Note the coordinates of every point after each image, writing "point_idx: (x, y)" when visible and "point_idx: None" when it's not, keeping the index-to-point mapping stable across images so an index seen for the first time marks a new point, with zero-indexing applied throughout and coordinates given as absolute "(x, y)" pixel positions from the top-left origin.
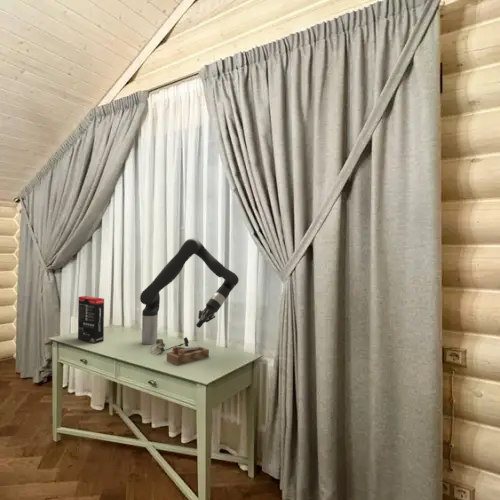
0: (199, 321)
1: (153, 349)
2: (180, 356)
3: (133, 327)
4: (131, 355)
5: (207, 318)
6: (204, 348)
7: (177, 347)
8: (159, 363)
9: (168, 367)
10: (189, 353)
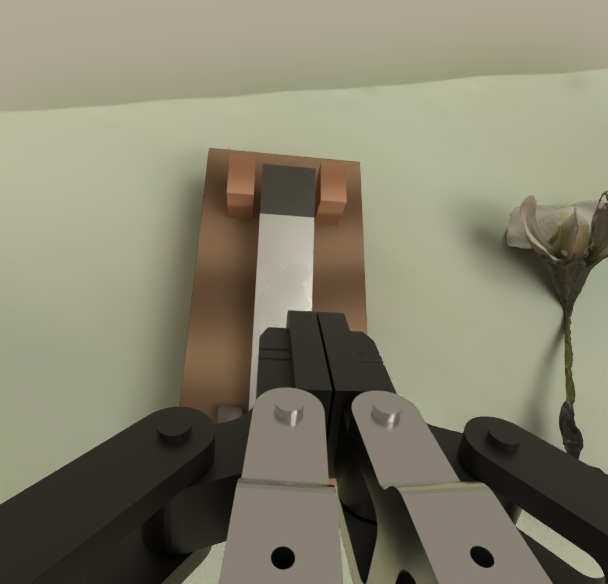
0: (332, 363)
1: (561, 211)
2: (208, 172)
3: None
4: (562, 121)
5: (61, 486)
6: None
7: (293, 167)
8: (325, 140)
9: (223, 133)
10: (217, 263)
